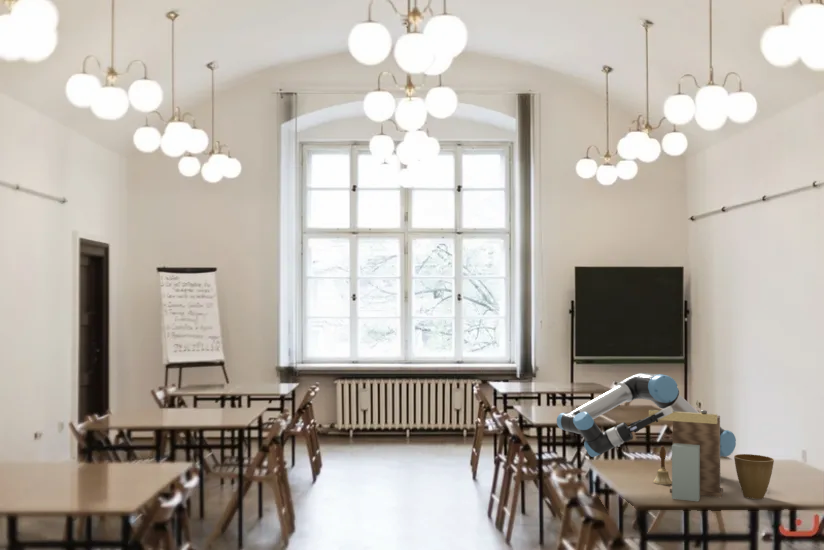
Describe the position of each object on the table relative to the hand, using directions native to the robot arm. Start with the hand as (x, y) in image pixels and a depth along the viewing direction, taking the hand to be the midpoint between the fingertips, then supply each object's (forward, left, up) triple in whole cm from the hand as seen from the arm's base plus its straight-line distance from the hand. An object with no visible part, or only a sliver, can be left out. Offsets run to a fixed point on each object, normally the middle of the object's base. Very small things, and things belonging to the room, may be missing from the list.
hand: (671, 409), depth 322 cm
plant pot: (-32, +11, -35) cm, 49 cm away
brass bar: (-3, +3, -4) cm, 6 cm away
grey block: (-4, +4, -35) cm, 36 cm away
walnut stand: (-16, -4, -35) cm, 39 cm away
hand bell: (-14, -23, -35) cm, 45 cm away
